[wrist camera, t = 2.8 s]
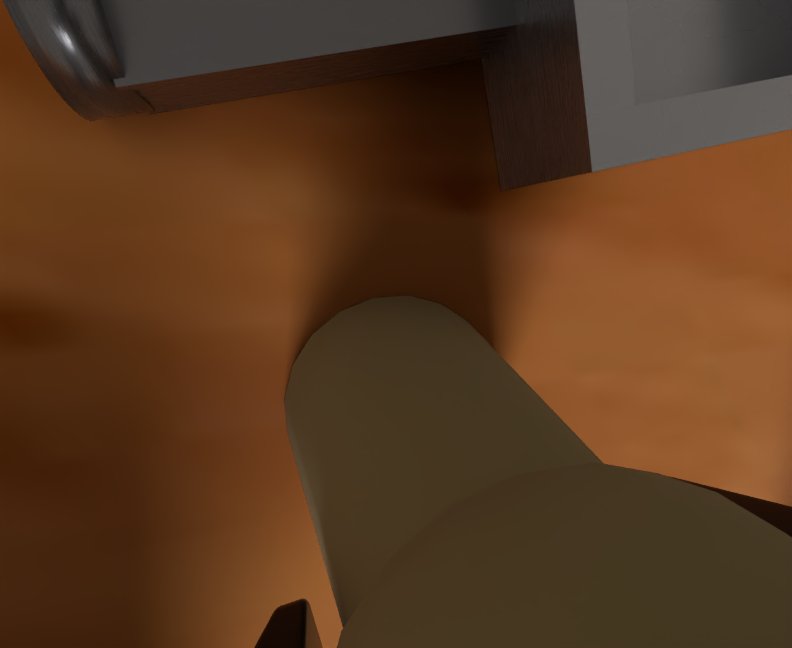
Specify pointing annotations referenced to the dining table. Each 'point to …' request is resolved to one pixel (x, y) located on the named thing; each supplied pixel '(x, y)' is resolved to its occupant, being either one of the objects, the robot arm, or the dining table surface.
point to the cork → (505, 507)
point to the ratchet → (443, 45)
